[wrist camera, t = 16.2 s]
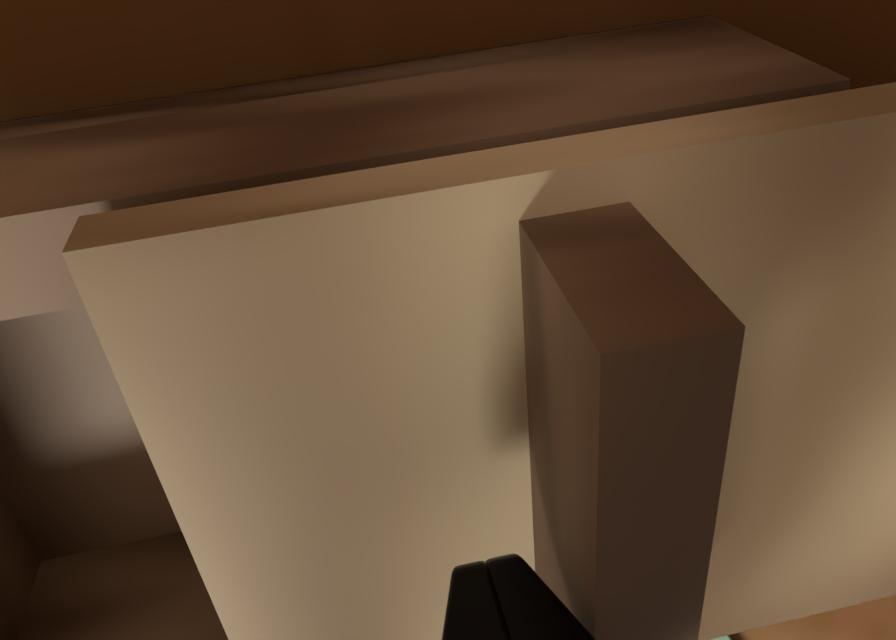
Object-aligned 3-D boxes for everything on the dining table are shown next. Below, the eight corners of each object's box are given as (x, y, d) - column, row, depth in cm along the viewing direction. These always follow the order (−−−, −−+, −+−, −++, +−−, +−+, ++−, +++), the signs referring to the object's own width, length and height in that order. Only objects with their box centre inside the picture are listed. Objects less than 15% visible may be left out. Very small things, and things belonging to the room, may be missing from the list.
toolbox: (-302, 646, 15) (-439, 845, 12) (-754, 235, 10) (-1178, 409, 7) (670, 441, 17) (752, 570, 14) (710, 15, 12) (851, 79, 9)
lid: (273, 697, 13) (274, 922, 10) (79, 216, 8) (-17, 418, 5) (1070, 510, 14) (1248, 664, 12) (1335, 9, 9) (1746, 85, 7)
